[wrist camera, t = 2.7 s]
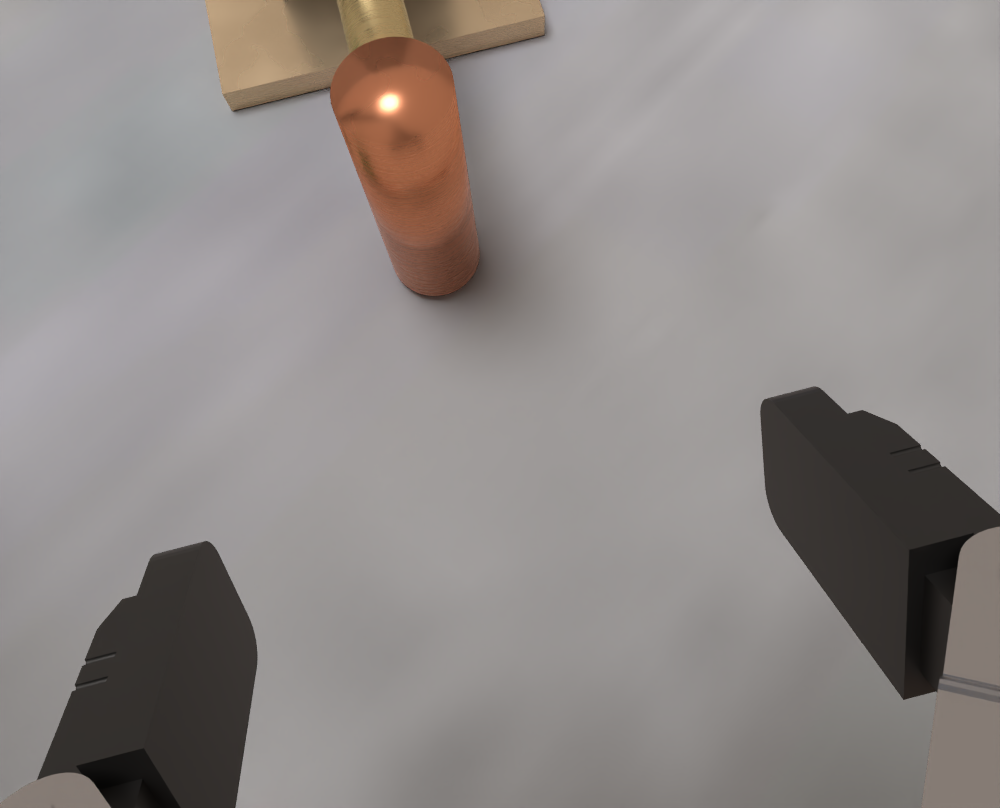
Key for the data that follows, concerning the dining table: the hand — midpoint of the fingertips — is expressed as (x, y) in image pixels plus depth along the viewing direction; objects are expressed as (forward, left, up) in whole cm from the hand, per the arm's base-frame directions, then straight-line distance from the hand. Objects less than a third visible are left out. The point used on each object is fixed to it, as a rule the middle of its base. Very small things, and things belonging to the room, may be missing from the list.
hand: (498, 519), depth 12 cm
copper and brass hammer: (-16, +12, -14) cm, 25 cm away
